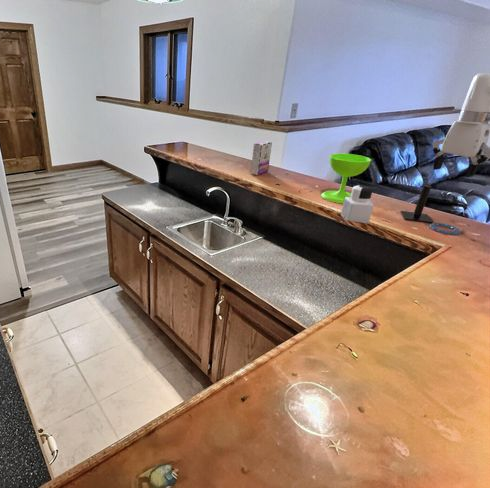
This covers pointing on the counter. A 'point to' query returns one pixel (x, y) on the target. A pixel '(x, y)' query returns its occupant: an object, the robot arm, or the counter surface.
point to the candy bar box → (261, 157)
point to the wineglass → (345, 173)
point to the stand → (419, 208)
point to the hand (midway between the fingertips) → (452, 172)
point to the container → (358, 205)
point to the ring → (454, 232)
